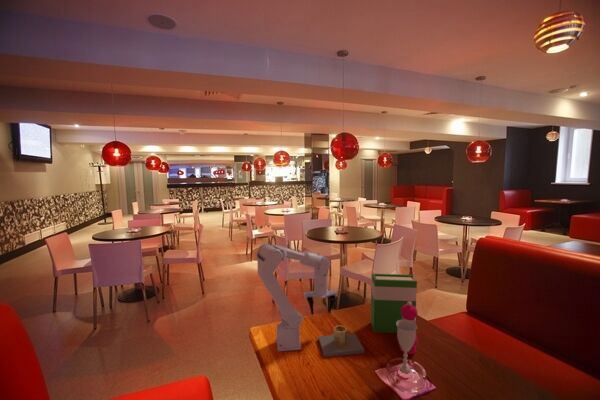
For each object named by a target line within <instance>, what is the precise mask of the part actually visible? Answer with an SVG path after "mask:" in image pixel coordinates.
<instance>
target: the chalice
mask: <svg viewBox="0 0 600 400" xmlns="http://www.w3.org/2000/svg"><path fill="white" fill-rule="evenodd" d="M396 325H397V327H398V328H397V333H396V339H397V341H398V344H400V346H401V349H402V350H403V351H404V352H403V354H402V357H403V359H402V362H403V364H402V363H401V364H400V365H399V366H400V367H399V366H398V368H400V371H401V372H402V373H405V374H408V373H410V370H411V368H410V367H409V366H408V365H407V363H408V356H409V354H407V352H408V351H410V349H411V348H412V346H413V344H414V342H415V334H416V335H417V331H416V330H418V325H417V324H416V322H415V323H414V322H412V321H410V320H405V319H403V320H398V321H397V322H396Z"/></svg>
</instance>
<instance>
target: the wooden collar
mask: <svg viewBox="0 0 600 400" xmlns="http://www.w3.org/2000/svg"><path fill="white" fill-rule="evenodd" d="M347 334H348V328H347V327H346V326H344V325H342V324H340V325H339V324H338V325H335V326H334V327H333V335H334V343H335V345H337V346H339V347H343V346H346V344H347Z"/></svg>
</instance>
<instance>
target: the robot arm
mask: <svg viewBox="0 0 600 400" xmlns="http://www.w3.org/2000/svg"><path fill="white" fill-rule="evenodd" d="M255 256H256V257H255V258H256V259H257V275H258V277H259V278H260V280H261V282H262V283H263V285H264V287H265V288H266V290H267V292H268V294H269V295H270V296H271V298H272V299H273V301H274V303H275V305H276V307H277V310H278V317H279V318H280V319H281V320H280V321H281V322H280V323H278V324H276V338H275V343H276V346H277V347H276V348H277V349H276V350H277V352H287V351H298V350H299V351H300V350H302V345H301V340H300V327H301V324H302V323H303V315H302V313H300V312H299V311H297V309H296V308H295V307H294V305H293V304H292V303H291V302H290V300H289V298H288V296H287V295H286V293H285V292H284V289H283V288H282V286H281V285H280V283H279V281H278V280H277V278H276V276H275V274H274V272H276V270H277V268H278V267H279V265H280V264H281V262H285V260H287V259H286V258H288V259H291V260H296V261H299V263H300V264H301V265H302V266H307V267H310V268H314V271H313V272H314V274H313V275H314V278H313V279H314V284H313V285H314V286H313V287H314V288H313V289H314V290H312V291H307V292H303V299H304V300H306V301H307V303H308V305H309V308H310V314H311V315H312V316H313V315H314V303H315V302H314V298H315V299H316V298H320V299H325V298H327V312H328V313H329V314H331V313H332V312H331V311H332V308H333V306H334V304H335V302H336V301H337V300H336V299H337V298H338V297H339V296H338V291H337V290H329V289H328V282H329V281H328V280H329V279H328V278H329V277H328V276H329V269H330V268H331V264H332V263H331V261H330V259H329V257H327V256H324V255H321V254H320V253H314V252H313V251H312V250H310V249H307V250H304V251H302V252H300V251H297V250H293V249H292V248H288V247H285V246H283V245H282V246H281V245H277V244H269V243H263V244H261V245H260V246H259V248H258V250H257V252H256V255H255ZM336 297H337V298H336Z"/></svg>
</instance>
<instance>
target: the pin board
mask: <svg viewBox="0 0 600 400" xmlns="http://www.w3.org/2000/svg"><path fill="white" fill-rule="evenodd" d="M317 337H318V338H317V339H318V342H319V346H320V349H321V351H322V354H323V357H324V358H326V357H337V356H345V355H346V356H348V355H355V354H356V355H358V354H365V348H364V346H363V345H362V343H361V341H360V340H359V338H358V336H357V335H356V333H355V332H351V333H347V344H346V346H343V347H339V346H337V345H335V343H334V334H330V335H320V336H319V335H318V336H317Z"/></svg>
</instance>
